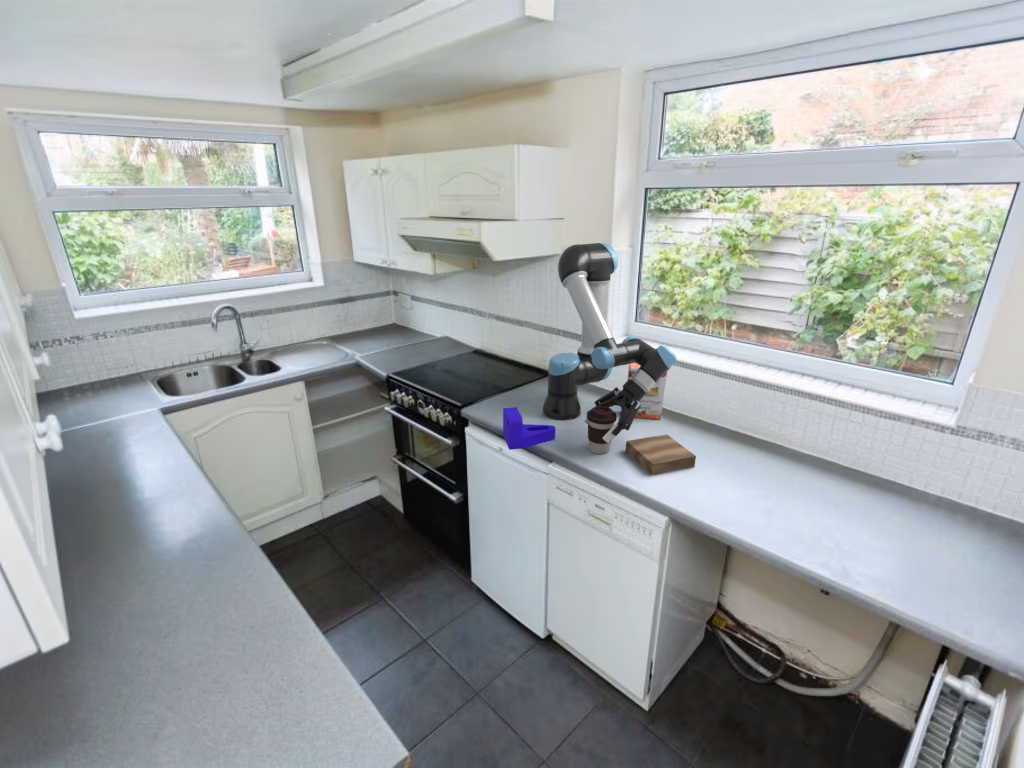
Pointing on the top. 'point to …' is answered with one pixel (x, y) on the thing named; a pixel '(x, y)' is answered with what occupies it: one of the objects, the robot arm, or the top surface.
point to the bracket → (524, 430)
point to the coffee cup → (599, 428)
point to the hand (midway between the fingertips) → (595, 431)
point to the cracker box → (650, 397)
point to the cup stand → (660, 454)
